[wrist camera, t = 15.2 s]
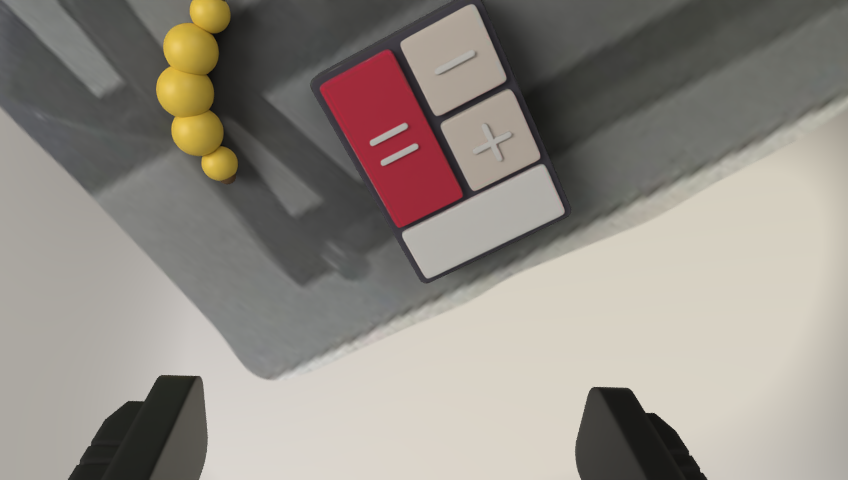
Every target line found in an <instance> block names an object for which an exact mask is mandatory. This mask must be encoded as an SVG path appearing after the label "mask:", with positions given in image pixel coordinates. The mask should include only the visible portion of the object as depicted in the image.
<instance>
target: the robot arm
mask: <svg viewBox="0 0 848 480" xmlns="http://www.w3.org/2000/svg"><path fill="white" fill-rule="evenodd" d="M207 439H208V437H207V423H206V412H205V400H204V389H203V382H202V379H201V377H200V376H176V375H175V376H173V375H161V376H159V377H158V378H157V380H156V382H155V383H154V385H153V387H152V389H151V391H150V393H149V394H148V396H147V398H146V400H145V401H144V402H143V401H128V402H126V403H125V404H124V405H123V406H122V407H120V408H119V409H118V410H117V411H115V412H114V413H113V414H112V415H110V416H109V417H108V418H107V419H105V421H104V422H103V424H102V426H101V427H100V429H99V430H98V432H97V434H96V435H95V437H94V438H93V440H92V442H91V446H89V447H88V448H87V450H86V451H85V453H84V455H83V456H82V458H81V459H80V464H79V465H77V466H76V468H75V469H74V471H73V472H72V474H71V475H70V477H69V479H68V480H199V478H200V475H201V472H202V469H203V466H204V462H205V458H206V452H207ZM575 456H576V464H577V469H578V472H579V475H580V478H581V480H707V478H706V477H705V475H704V474H703V473H701V472H700V468H699V466H698V465H697V463H696V461H695V460H694V458H693V457H692V456H690V455H689V451H688V449H687V448H686V446H685V445H684V443H683V442H682V440H681V439H680V437H679V435H678V434H677V432H676V431H675V430H674V429H673V428H672V427H670V426H669V425H668V424H667V423H666V422H665V421H663V420H662V419H661V418H660V417H659V416H657V415H656V414H655V413H645V411H644V410H643V408H642V406H641V405H640V403H639V401H638V400H637V398H636V397H635V395H634V394H633V392H632V391H631V390H630V389H629V388H613V387H612V388H611V387H593V388H591V390H590V391H589V394H588V397H587V401H586V405H585V409H584V413H583V417H582V421H581V424H580V428H579V432H578V437H577V440H576V447H575Z"/></svg>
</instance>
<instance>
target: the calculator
mask: <svg viewBox="0 0 848 480" xmlns="http://www.w3.org/2000/svg"><path fill="white" fill-rule="evenodd" d="M310 87H311V89H312V91H313V93H314V95H315V97H316V98H317V100H318V102H319V104H320V105H321V107H322V109H323V111H324V112H325V114H326V116H327V118H328V119H329V121H330V123H331V125H332V126H333V128H334V130H335V132H336V134H337V135H338V137H339V139H340V141H341V142H342V144H343V146H344V148H345V149H346V151H347V153H348V155H349V156H350V158H351V160H352V162H353V163H354V165H355V167H356V169H357V170H358V172H359V174H360V176H361V177H362V179H363V181H364V183H365V184H366V186H367V188H368V190H369V191H370V193H371V195H372V197H373V198H374V200H375V202H376V204H377V206H378V207H379V209H380V211H381V213H382V214H383V216H384V218H385V220H386V221H387V223H388V225H389V227H390V228H391V230H392V232H393V234H394V235H395V237H396V239H397V241H398V242H399V244H400V246H401V248H402V249H403V251H404V253H405V255H406V256H407V258H408V260H409V262H410V263H411V265H412V267H413V269H414V270H415V272H416V274H417V276H418V277H419V279H420V281H421V282H423V283H430V282H432V281H434V280H436V279H438V278H440V277H442V276H445V275H447V274H449V273H451V272H453V271H455V270H457V269H459V268H461V267H463V266H466V265H468V264H470V263H472V262H474V261H476V260H478V259H480V258H482V257H484V256H487V255H489V254H491V253H493V252H495V251H497V250H499V249H501V248H503V247H506V246H508V245H510V244H512V243H514V242H516V241H518V240H520V239H522V238H524V237H527V236H529V235H531V234H533V233H535V232H537V231H539V230H541V229H543V228H545V227H548V226H550V225H552V224H554V223H556V222H558V221H560V220H562V219H564V218H566V217H568V216H569V215H570V214H571V207H570V204H569V202H568V200H567V197H566V195H565V193H564V190H563V188H562V186H561V183H560V181H559V179H558V177H557V174H556V172H555V170H554V167H553V165H552V163H551V160H550V158H549V156H548V153H547V151H546V149H545V146H544V144H543V142H542V139H541V137H540V135H539V132H538V130H537V128H536V125H535V123H534V121H533V118H532V116H531V114H530V111H529V109H528V107H527V104H526V102H525V100H524V97H523V95H522V93H521V90H520V88H519V86H518V83H517V81H516V79H515V76H514V74H513V72H512V69H511V67H510V65H509V62H508V60H507V58H506V55H505V53H504V51H503V48H502V46H501V44H500V41H499V39H498V37H497V34H496V32H495V30H494V27H493V25H492V23H491V20H490V18H489V16H488V13H487V11H486V9H485V6H484V4H483V2H482V0H453V1H451V2H449V3H448V4H446V5H444V6H442V7H440V8H438V9H437V10H435V11H433V12H431V13H429V14H427V15H426V16H424V17H422V18H420V19H418V20H416V21H415V22H413V23H411V24H409V25H407V26H405V27H403V28H402V29H400V30H398V31H396V32H394V33H392V34H391V35H389V36H387V37H385V38H383V39H381V40H380V41H378V42H376V43H374V44H372V45H370V46H369V47H367V48H365V49H363V50H361V51H359V52H358V53H356V54H354V55H352V56H350V57H348V58H346V59H345V60H343V61H341V62H339V63H337V64H335V65H334V66H332V67H330V68H328V69H326V70H324V71H323V72H321V73H319V74H318V75H317V76H315V77H314V78H313V79H312V80H311V83H310Z"/></svg>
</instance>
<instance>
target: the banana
mask: <svg viewBox="0 0 848 480" xmlns="http://www.w3.org/2000/svg"><path fill="white" fill-rule="evenodd" d="M190 15H191V18H192V21H193V22H194V24H193V23H182V24H179V25H177V26H175V27H173V28H172V29H171V30H170V31H169V32H168V33H167V35H166V37H165V39H164V45H163V48H164V54H165V57H166V60H167V61H168V63H169V64H170V67H169V68H167V69H166V70H164V71H163V72H162V74H161V75H160V77H159V78H158V81H157V86H156V92H157V97H158V100H159V102H160V103H161V105H162V106H163V108H164V109H165V110H166V111H167V112H169V113H170V114H172V115H174V116H176V117H175V118H174V120H173V123H172V128H171V130H172V137H173V139H174V141H175V143H176V145H177V146H178V147H179V148H180V149H181V150H182V151H184V152H186V153H188V154H190V155H194V156H203V157H202V168H203V170H204V172H205V173H206V175H207V176H209V177H210V178H212V179H214V180H218V181H221V182H222V183H224V184H231V183H233V182H234V181H235V179H236V171H237V168H238V160H237V157H236V155H235V154H234V153H233V152H232V151H231V150H230V149H228V148H226V147H223V146H220V144H221V142H222V140H223V135H224V131H223V126H222V123H221V121H220V119H219V118H218V117H217V116H216V115H215V114H214V113H213V112H212V111H210V110H209V109H210V107H211V105H212V103H213V100H214V88H213V85H212V82H211V80H210V79H209V77H208V76H207V75H206V74H208V73H209V72H210V71H212V70H213V68H214V67H215V66H216V64H217V61H218V57H219V49H218V45H217V42H216V40H215V38H214V37H213V35H212V34H211V33H218V32H221V31H223V30H224V29H225V28H226V27H227V26H228V24H229V22H230V9H229V6H228V4H227V3H226V2H225V0H193V1H192V2H191V5H190Z"/></svg>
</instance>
